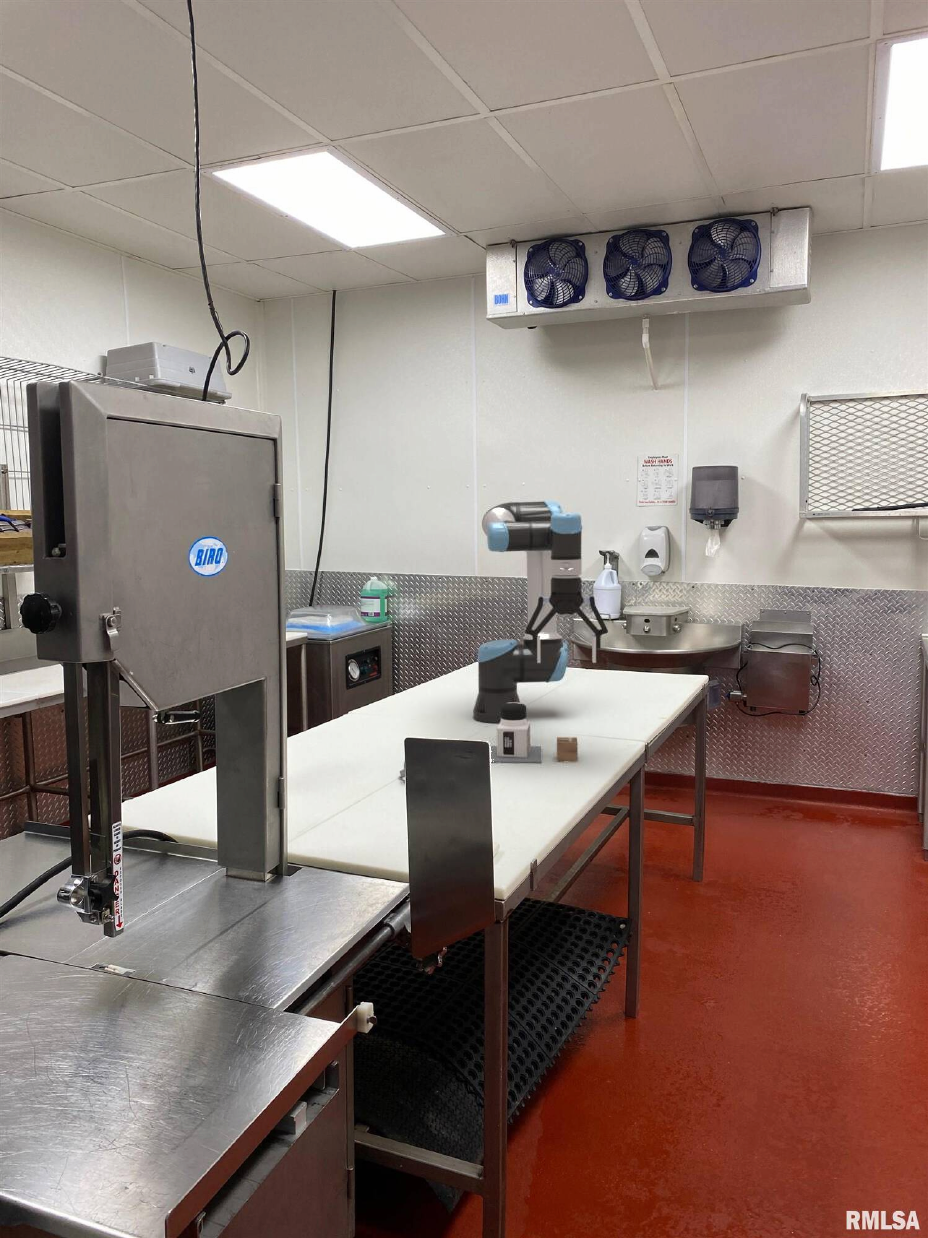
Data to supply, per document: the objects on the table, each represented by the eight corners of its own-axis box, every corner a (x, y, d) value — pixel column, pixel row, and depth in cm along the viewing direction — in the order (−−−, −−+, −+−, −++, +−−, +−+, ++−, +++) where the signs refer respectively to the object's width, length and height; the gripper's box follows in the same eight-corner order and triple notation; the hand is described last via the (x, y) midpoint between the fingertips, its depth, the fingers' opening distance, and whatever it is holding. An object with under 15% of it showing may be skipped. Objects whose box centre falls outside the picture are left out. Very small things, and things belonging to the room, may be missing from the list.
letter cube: (556, 756, 221) (556, 736, 220) (576, 756, 220) (576, 736, 220) (557, 762, 216) (557, 741, 215) (577, 762, 216) (577, 741, 215)
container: (527, 758, 218) (526, 707, 216) (496, 757, 219) (496, 707, 218) (530, 749, 225) (530, 700, 224) (501, 748, 227) (500, 700, 225)
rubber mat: (488, 747, 230) (488, 745, 230) (541, 747, 229) (541, 746, 229) (485, 762, 216) (484, 761, 216) (541, 763, 215) (541, 761, 215)
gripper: (514, 578, 210) (515, 664, 212) (618, 577, 207) (618, 664, 210) (515, 575, 217) (516, 659, 220) (616, 574, 215) (615, 659, 218)
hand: (566, 662), depth 215 cm, fingers open, 13 cm apart
